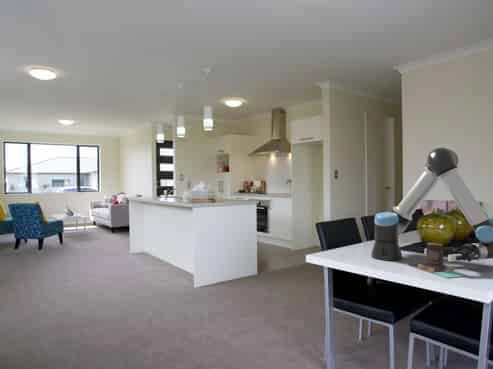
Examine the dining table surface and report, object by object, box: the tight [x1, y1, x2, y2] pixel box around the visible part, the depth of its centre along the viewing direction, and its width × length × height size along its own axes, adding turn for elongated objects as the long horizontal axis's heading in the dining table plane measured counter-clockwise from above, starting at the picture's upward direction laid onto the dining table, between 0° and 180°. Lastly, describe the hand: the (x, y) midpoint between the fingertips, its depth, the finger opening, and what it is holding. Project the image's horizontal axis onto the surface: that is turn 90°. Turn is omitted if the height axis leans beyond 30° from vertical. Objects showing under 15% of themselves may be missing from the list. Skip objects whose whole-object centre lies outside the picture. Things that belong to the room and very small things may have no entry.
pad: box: [432, 270, 469, 279], centre depth 148 cm, size 8×11×1 cm
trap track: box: [408, 262, 454, 274], centre depth 159 cm, size 15×11×2 cm
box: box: [426, 242, 444, 272], centre depth 156 cm, size 6×4×12 cm
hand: (436, 254), depth 156 cm, fingers open, 13 cm apart
